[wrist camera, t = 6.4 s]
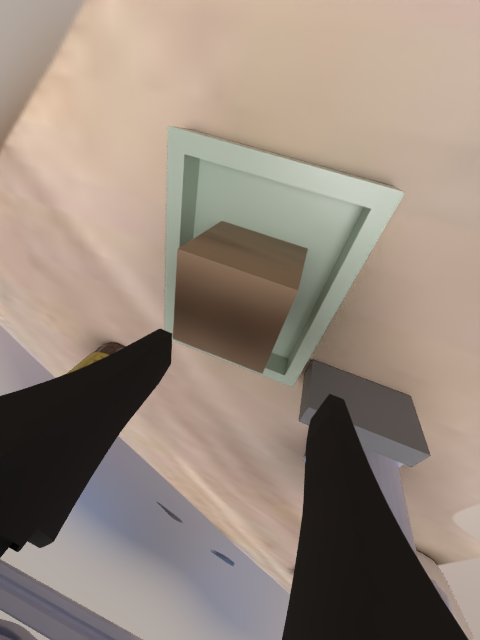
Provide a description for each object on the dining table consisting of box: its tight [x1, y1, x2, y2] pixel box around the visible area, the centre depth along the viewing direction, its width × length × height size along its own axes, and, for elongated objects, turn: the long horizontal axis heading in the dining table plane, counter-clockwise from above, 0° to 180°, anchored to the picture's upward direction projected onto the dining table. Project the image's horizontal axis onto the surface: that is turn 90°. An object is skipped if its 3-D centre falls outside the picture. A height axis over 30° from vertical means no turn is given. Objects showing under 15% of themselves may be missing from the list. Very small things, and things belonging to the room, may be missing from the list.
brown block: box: [173, 221, 308, 374], centre depth 15 cm, size 6×6×6 cm
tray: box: [164, 126, 405, 387], centre depth 17 cm, size 15×12×2 cm
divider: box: [299, 360, 431, 467], centre depth 19 cm, size 2×8×5 cm, turn 77°
